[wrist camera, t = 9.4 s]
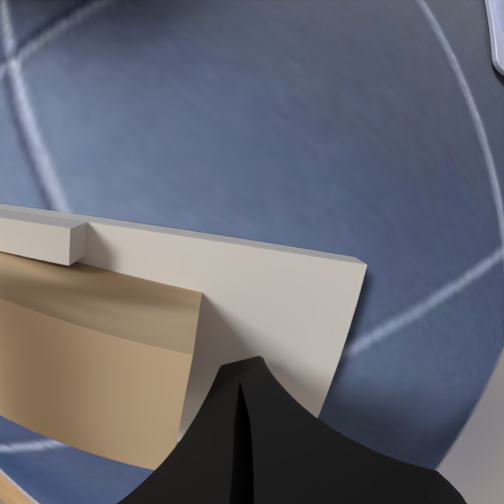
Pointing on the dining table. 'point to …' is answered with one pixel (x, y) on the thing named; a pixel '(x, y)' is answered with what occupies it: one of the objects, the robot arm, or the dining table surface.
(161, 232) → the keyhole base
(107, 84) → the dining table surface
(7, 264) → the tan tapered block
